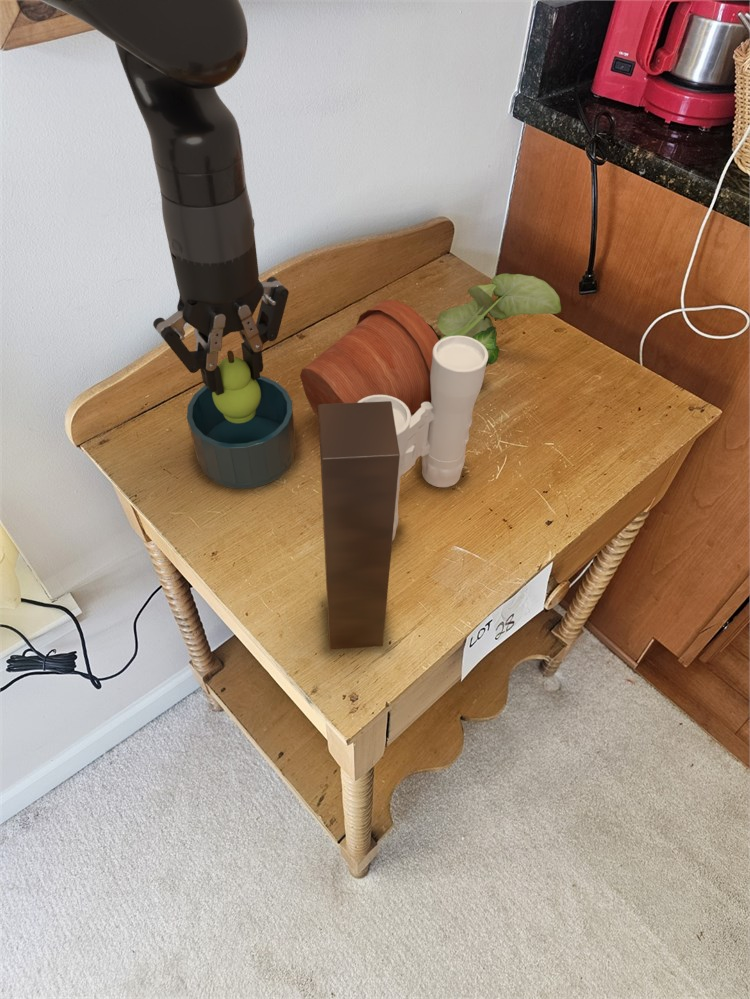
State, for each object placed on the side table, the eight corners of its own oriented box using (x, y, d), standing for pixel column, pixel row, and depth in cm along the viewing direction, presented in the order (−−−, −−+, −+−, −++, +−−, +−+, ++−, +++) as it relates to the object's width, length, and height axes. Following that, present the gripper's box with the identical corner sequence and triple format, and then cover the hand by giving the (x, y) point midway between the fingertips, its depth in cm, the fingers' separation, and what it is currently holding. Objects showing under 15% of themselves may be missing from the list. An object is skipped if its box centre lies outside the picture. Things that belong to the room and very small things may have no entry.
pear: (214, 429, 77) (202, 369, 70) (217, 397, 80) (205, 335, 73) (262, 427, 77) (255, 367, 70) (263, 395, 80) (255, 334, 73)
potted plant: (372, 490, 83) (568, 350, 95) (360, 396, 71) (587, 250, 83) (294, 421, 90) (485, 300, 103) (272, 326, 78) (491, 202, 91)
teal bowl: (194, 491, 80) (183, 450, 74) (200, 418, 87) (190, 375, 81) (297, 486, 80) (293, 444, 75) (294, 414, 88) (291, 371, 82)
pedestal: (329, 650, 68) (321, 459, 46) (326, 603, 71) (318, 403, 49) (382, 646, 68) (400, 455, 46) (377, 599, 72) (391, 400, 50)
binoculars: (437, 448, 85) (455, 327, 71) (473, 471, 83) (499, 352, 69) (339, 532, 77) (337, 415, 62) (376, 561, 74) (383, 446, 60)
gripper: (260, 195, 66) (274, 340, 79) (117, 239, 61) (157, 387, 74) (302, 232, 62) (309, 378, 76) (154, 282, 57) (189, 430, 70)
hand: (234, 381), depth 75 cm, fingers closed on pear, 3 cm apart
